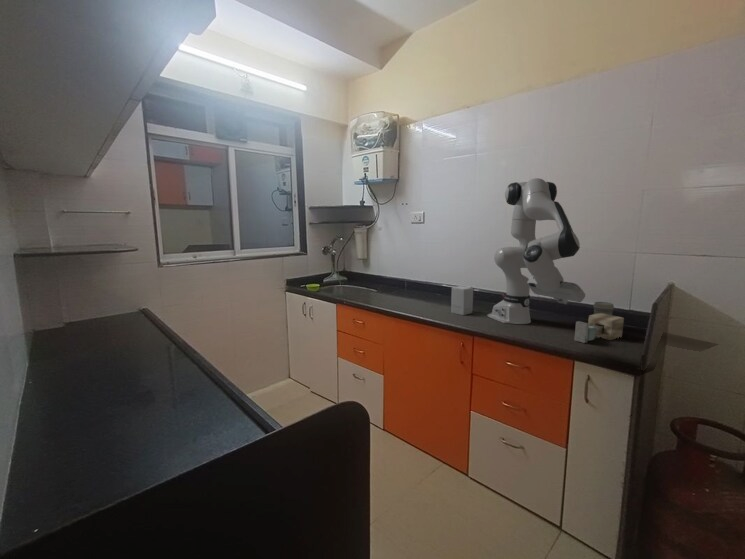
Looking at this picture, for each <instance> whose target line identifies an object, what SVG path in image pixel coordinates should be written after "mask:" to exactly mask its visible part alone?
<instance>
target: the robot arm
mask: <svg viewBox="0 0 745 559" xmlns="http://www.w3.org/2000/svg"><path fill="white" fill-rule="evenodd" d="M557 195H558V189H557V185H556V184H555V183H554V182H552V181H551V182H550V181H546V180H544V179H542V178H539V177H538V178H537V177H536V178H532V179H530V180H528V181H520V182H512V183H509V184H508V185H507V188H506V189H505V192H504V197H505V201H506V203H507V205H509V206H514V208H513V211H512V212H513V213H512V217H511V218H512V219H511V226H510V228H511V229H510V233H511V234H510V235H511V236H512V237H513V238H514V239H516V240H517V241H518V242H519V246H506V247H501V248H498V249H497V250H496V252H495V254H494V262H495V265H496V266H497V267H498V268H500V269H501V270H502V272H503V273H504V276H505V278H506V279H505V280H506V292H505V293H503V294H502V295H501V297H502V298H503V299H502V300H501V301H499V302H497V303H496V304H494V305H493V307H492V310H491V311H492V312H490V313H488V314H487V317H488V318H489V319H490V318H491V319H493V320H495V321H498V322H499V323H501V324H502V323H503V324H515V325H528V324H530V323H532V320H531V315H530V302H531V295H530V291H532V292H533V293H534V294H535V295H537V296H544V297H549V298H553V299H554V300H556V301H557V302H558V303H559V304H564V305H567V304H568V302H570V301H571V302H575V303H581V302H583V300H585V297H586V293H585V292H584V291H583V288H582V287H580V285H578V284H577V283H574V282H568V281H564V277H563V276H562V273H561V272H560V271H559V269H558V267H556V266H555V263H554V262H555V260H556V261H557V260H560V259H565V258H571V257H574V256H575V255H576V254H577V253H578V251H579V250H580V247H581V246H580V240H579V238H578V236H577V235H576V233H575V232H574V230H573V228H572V225H571V224H570V221H569V219H568V216H567V214H566V212H565V210H564V208H563V207H562V205H561V203H559V201H555V200H556V198H557ZM538 221H555V222H556V225H557V228H558V231H556V232H555V233H552V234H549V235H546V236H544V237H539V238H537V239H536V225H537V222H538ZM521 269H527V270H528V272H529V273H530V277H529V278H528V276H525V275H524V274H522V270H521Z"/></svg>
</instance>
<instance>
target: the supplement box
mask: <svg viewBox="0 0 745 559" xmlns="http://www.w3.org/2000/svg"><path fill="white" fill-rule="evenodd" d="M450 295H451V300H450V302H451V303H450V304H451V305H450V306H451V308H450V312H451V314H456V315H460V316H465V315H468V314H469V315H470V314H472V313H473V306H474V305H473V303H474V302H473V300H474V287H471V286H466V285H464V286H463V285H458V286H453V287H451V294H450Z"/></svg>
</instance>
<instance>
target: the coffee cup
mask: <svg viewBox="0 0 745 559" xmlns="http://www.w3.org/2000/svg"><path fill="white" fill-rule="evenodd" d="M592 307H593V314H597V313H603V314H608V315H613V312H614V310H615V306H614V303H611V302H607V301H595V302H594V303H593V306H592Z"/></svg>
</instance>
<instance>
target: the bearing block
mask: <svg viewBox="0 0 745 559" xmlns="http://www.w3.org/2000/svg"><path fill="white" fill-rule="evenodd" d="M624 320H625V318H624V317H622V316H616V315H613V314H612V315H608V314H603V313H597V314H594V313H592V314H590V315H588V322H587V323H589V326H593V325H597V324H601V325H604V333H601V334H597V335H595V337H596V336H597V337H596V338H600V337H601V339H605V340H609V341H613V340H616V338H617V339H619V337H620V338H622V337H623V330H624V322H625V321H624Z"/></svg>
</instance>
